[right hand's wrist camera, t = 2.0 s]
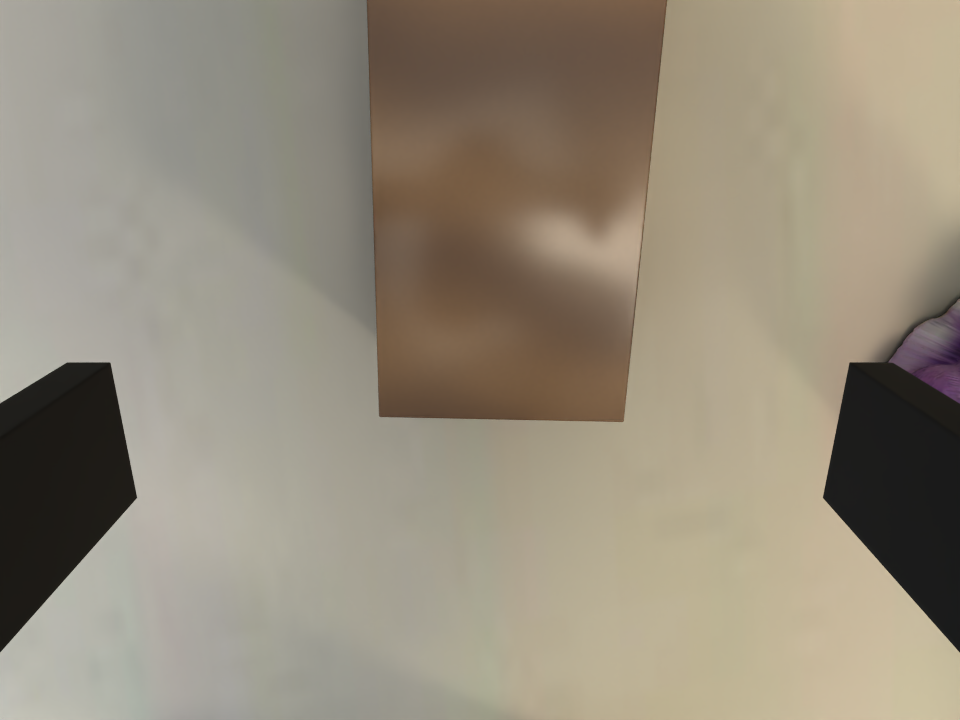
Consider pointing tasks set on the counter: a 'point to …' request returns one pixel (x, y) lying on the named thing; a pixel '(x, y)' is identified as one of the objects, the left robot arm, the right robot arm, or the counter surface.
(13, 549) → the right robot arm
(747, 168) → the counter surface
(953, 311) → the figurine
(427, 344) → the slab
